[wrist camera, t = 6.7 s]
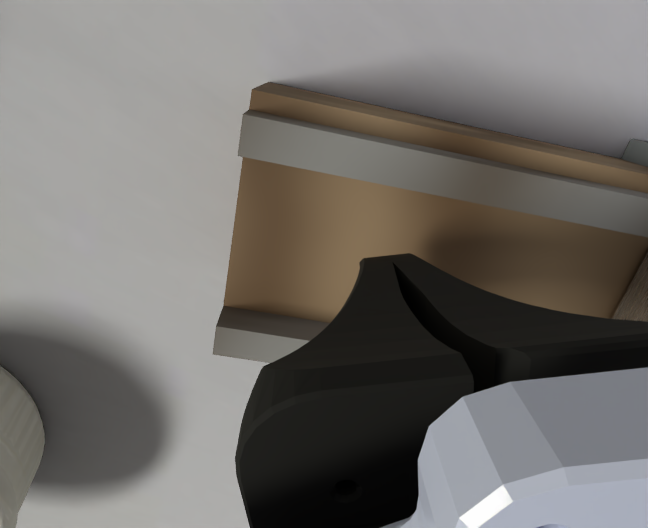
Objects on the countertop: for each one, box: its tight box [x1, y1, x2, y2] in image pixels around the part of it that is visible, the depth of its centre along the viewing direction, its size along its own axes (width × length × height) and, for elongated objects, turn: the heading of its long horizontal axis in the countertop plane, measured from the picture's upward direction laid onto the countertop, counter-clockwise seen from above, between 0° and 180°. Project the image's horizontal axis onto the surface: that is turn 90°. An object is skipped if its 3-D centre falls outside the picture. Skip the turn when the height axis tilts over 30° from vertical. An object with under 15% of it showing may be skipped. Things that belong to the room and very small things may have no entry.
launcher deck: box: [213, 82, 648, 363], centre depth 16 cm, size 14×8×6 cm, turn 78°
